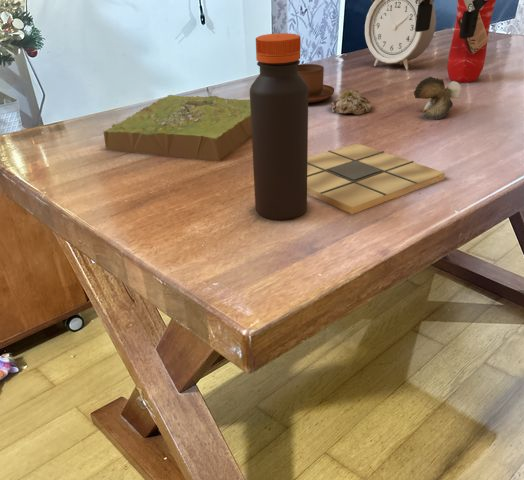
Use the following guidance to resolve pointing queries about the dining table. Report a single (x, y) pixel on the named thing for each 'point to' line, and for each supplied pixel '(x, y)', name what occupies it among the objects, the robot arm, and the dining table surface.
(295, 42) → the vinegar
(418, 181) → the board
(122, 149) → the miniature landscape model
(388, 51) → the alarm clock
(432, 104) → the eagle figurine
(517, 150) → the dining table surface
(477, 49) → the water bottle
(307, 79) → the cup and saucer
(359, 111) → the mineral rock
